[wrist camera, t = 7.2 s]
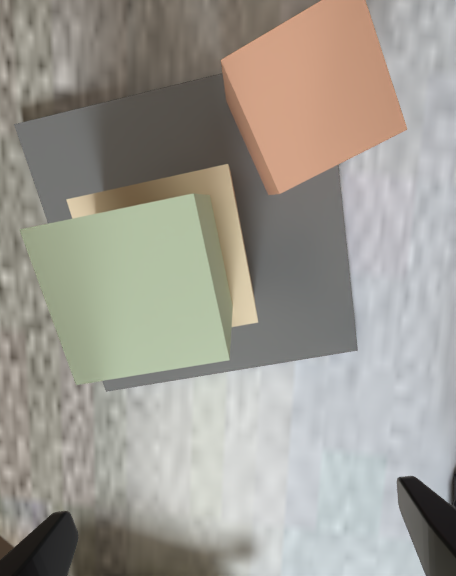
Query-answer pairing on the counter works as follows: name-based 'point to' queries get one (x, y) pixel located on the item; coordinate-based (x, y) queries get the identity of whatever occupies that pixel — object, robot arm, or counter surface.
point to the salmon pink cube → (312, 93)
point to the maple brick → (225, 214)
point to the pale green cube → (135, 288)
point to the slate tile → (250, 202)
